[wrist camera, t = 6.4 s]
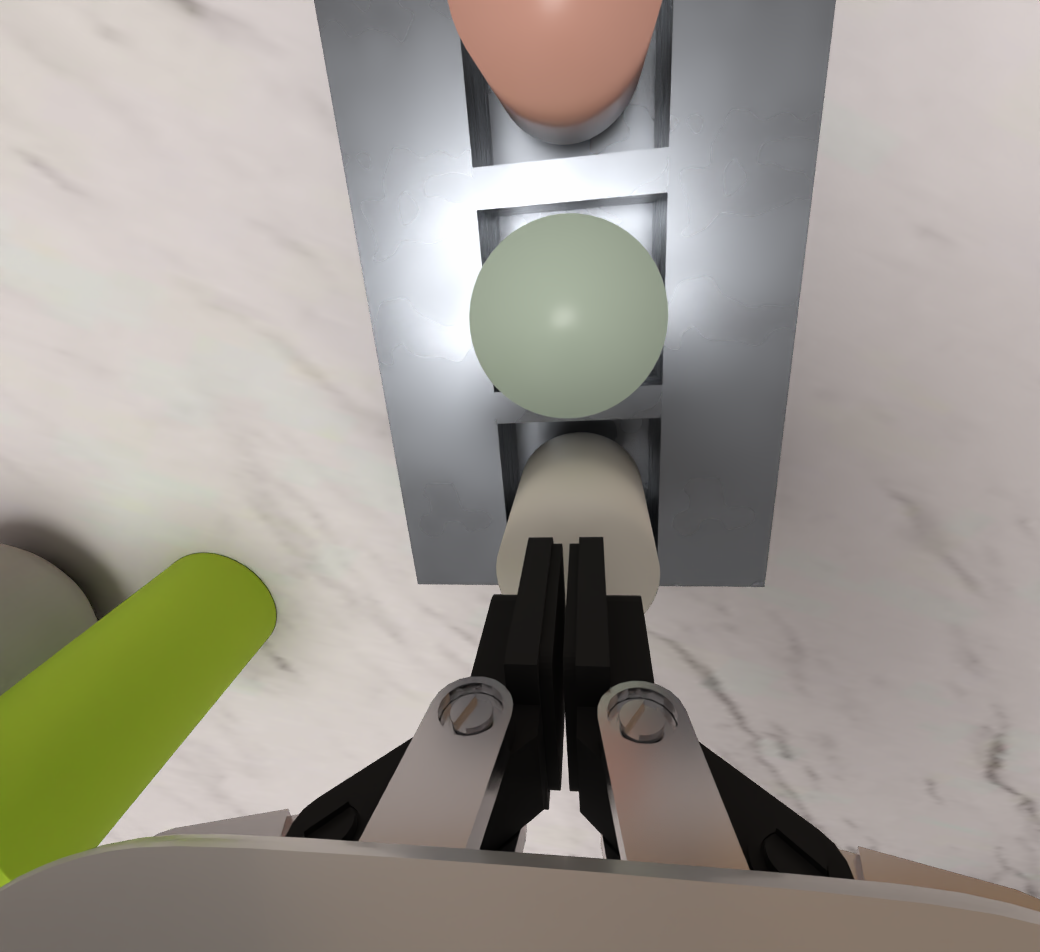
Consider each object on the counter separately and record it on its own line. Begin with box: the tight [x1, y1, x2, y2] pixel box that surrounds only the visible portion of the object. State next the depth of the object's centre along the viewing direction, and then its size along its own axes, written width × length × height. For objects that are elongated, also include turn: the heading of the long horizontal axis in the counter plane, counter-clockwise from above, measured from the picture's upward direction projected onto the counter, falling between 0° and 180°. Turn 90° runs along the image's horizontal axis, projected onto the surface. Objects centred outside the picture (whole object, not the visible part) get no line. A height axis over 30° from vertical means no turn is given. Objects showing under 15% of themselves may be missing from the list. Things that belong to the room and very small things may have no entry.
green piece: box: [469, 213, 668, 418], centre depth 13 cm, size 4×4×5 cm
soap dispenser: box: [0, 553, 276, 887], centre depth 18 cm, size 6×7×20 cm
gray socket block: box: [314, 0, 836, 587], centre depth 17 cm, size 12×19×4 cm, turn 4°
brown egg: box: [447, 0, 662, 145], centre depth 12 cm, size 4×4×5 cm
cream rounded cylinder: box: [496, 432, 660, 613], centre depth 15 cm, size 4×4×5 cm
